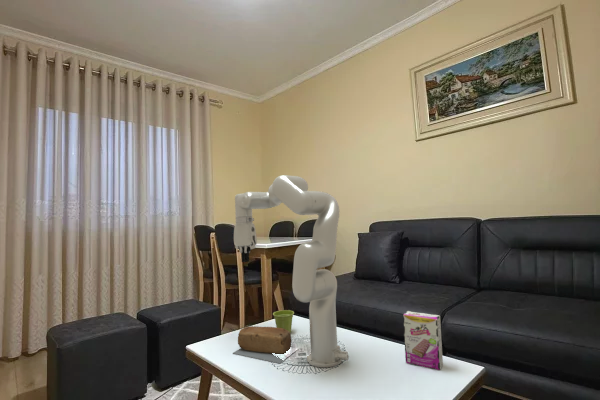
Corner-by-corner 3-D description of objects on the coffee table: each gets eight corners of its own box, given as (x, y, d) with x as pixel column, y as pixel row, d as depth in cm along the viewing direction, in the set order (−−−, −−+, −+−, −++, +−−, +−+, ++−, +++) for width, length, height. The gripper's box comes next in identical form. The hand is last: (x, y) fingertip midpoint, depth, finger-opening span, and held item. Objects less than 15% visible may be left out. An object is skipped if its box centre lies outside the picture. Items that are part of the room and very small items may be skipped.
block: (236, 350, 125) (283, 357, 119) (236, 330, 126) (283, 335, 119) (249, 341, 136) (294, 346, 129) (249, 322, 136) (294, 327, 129)
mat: (299, 348, 126) (299, 348, 126) (280, 363, 113) (280, 363, 113) (254, 340, 136) (254, 340, 136) (232, 353, 124) (232, 353, 124)
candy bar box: (405, 363, 109) (402, 314, 110) (409, 358, 113) (406, 310, 114) (440, 371, 103) (437, 318, 104) (443, 365, 107) (440, 314, 108)
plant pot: (272, 330, 148) (271, 311, 148) (293, 328, 150) (292, 309, 150) (274, 337, 139) (274, 317, 139) (296, 335, 140) (295, 314, 141)
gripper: (262, 220, 146) (264, 261, 145) (236, 221, 154) (238, 260, 153) (252, 220, 140) (253, 263, 139) (225, 221, 147) (227, 262, 146)
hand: (245, 261), depth 146 cm, fingers closed
